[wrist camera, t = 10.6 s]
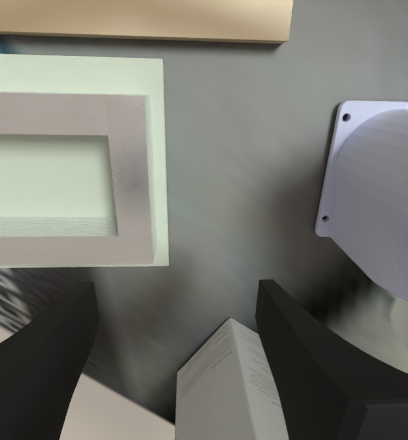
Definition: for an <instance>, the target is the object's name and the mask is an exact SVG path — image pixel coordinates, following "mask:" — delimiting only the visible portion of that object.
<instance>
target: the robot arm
mask: <svg viewBox="0 0 408 440" xmlns="http://www.w3.org/2000/svg"><path fill="white" fill-rule="evenodd" d="M344 114H347V119H346V120H345V121H343V120H342V117H343V115H344ZM324 216H327V218H326V219H325V220H322V218H323V217H324ZM315 233H316V234H317V235H318V236H319V237H330V238H331V239H332V240H333V241H334V242H335V243H336V244H337V245H338V246H339V247H340V248H341V249H342V250H343V251H344V252H345V253H346V254H347V255H348V256H349V257H350V258H351V259H352V260H353V261H354V262H355V263H356V264H357V265H358V267H359V268H360V269H361V270H362V271H363V272H364V273H365V274H366V275H367V276H368V277H369V278H370V279H371V280H372V281H374V282H375V283H376V284H378V285H379V286H380V287H382V288H384V289H385V290H387V291H389V292H391V293H392V294H394V295H396V296H399V297H401V298H403V299H405V300H408V102H392V101H343V102H342V103H341V104H340V105H339V107H338V111H337V116H336V121H335V127H334V132H333V137H332V142H331V147H330V153H329V158H328V163H327V168H326V174H325V179H324V184H323V189H322V195H321V200H320V205H319V210H318V216H317V221H316V226H315ZM255 318H256V323H257V328H258V333H259V337H260V340H261V343H262V346H263V349H264V352H265V355H266V358H267V361H268V364H269V367H270V370H271V373H272V376H273V379H274V382H275V384H276V388H277V391H278V394H279V398H280V402H281V407H282V411H283V415H284V419H285V424H286V428H287V433H288V437H289V440H408V374H407V373H405V372H403V371H400V370H398V369H396V368H394V367H392V366H390V365H388V364H386V363H384V362H382V361H380V360H378V359H376V358H374V357H373V356H371V355H369V354H367V353H365V352H364V351H362V350H360V349H359V348H357V347H355V346H354V345H352V344H350V343H349V342H347V341H346V340H344V339H343V338H341V337H340V336H338V335H337V334H335V333H334V332H332V331H331V330H330V329H328V328H327V327H326V326H324V325H323V324H322V323H320V322H319V321H318V320H317V319H315V318H314V317H313V316H312V315H310V314H309V313H308V312H307V311H306V310H305V309H304V308H302V307H301V306H300V305H299V304H298V303H297V302H296V301H295V300H294V299H293V298H292V297H291V296H289V295H288V294H287V293H286V292H285V291H284V290H283V289H282V288H281V287H280V286H279V285H278V284H277V283H276V282H275V281H274V280H259V288H258V296H257V305H256V314H255ZM98 323H99V314H98V307H97V301H96V294H95V287H94V282H79V283H78V284H76V285H75V286H74V287H73V288H72V289H70V290H69V291H68V292H67V293H66V294H65V295H63V296H62V297H61V298H60V299H59V300H58V301H56V302H55V303H54V304H53V305H52V306H50V307H49V308H48V309H47V310H46V311H44V312H43V313H42V314H40V315H39V316H38V317H37V318H35V319H34V320H33V321H31V322H30V323H29V324H27V325H26V326H25V327H23V328H22V329H21V330H19V331H18V332H16V333H15V334H13V335H12V336H11V337H9V338H8V339H6V340H4V341H3V342H1V343H0V440H59V439H60V434H61V431H62V428H63V424H64V421H65V417H66V414H67V410H68V407H69V404H70V401H71V398H72V395H73V393H74V390H75V387H76V385H77V383H78V380H79V378H80V375H81V373H82V370H83V368H84V365H85V363H86V360H87V358H88V355H89V353H90V350H91V347H92V345H93V342H94V339H95V335H96V331H97V327H98Z"/></svg>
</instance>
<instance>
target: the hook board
mask: <svg viewBox="0 0 408 440" xmlns="http://www.w3.org/2000/svg"><path fill="white" fill-rule="evenodd" d="M292 6H293V0H0V34H2V35H32V36H62V37H92V38H122V39H152V40H181V41H211V42H241V43H271V44H283V43H285V42H287V41H288V40H289V31H290V23H291V14H292Z"/></svg>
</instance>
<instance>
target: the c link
mask: <svg viewBox="0 0 408 440" xmlns="http://www.w3.org/2000/svg"><path fill="white" fill-rule="evenodd" d="M0 134H44V135H108V139H109V149H110V159H111V168H112V178H113V187H114V197H115V207H116V216H117V217H0V265H77V264H153V261H154V256H155V251H156V245H157V228H156V206H155V184H154V163H153V141H152V119H151V98H150V95H149V94H106V93H63V92H20V91H0Z"/></svg>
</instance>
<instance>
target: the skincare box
mask: <svg viewBox="0 0 408 440" xmlns="http://www.w3.org/2000/svg"><path fill="white" fill-rule="evenodd" d="M175 440H289V437H288V433H287V428H286V424H285V419H284V415H283V411H282V407H281V402H280V398H279V394H278V391H277V388H276V384H275V382H274V379H273V376H272V373H271V370H270V367H269V364H268V361H267V358H266V355H265V352H264V349H263V346H262V343H261V340H260V337H259V334H257V333H255V332H254V331H252V330H250V329H249V328H247V327H246V326H244V325H242V324H241V323H239V322H237V321H236V320H234V319H232V318H229V319H228V320H227V321H226V322H225V323H224V324H223V325H222V326H221V327H220V328H219V329H218V330H217V331H216V332H215V333H214V334H213V336H212V337H211V338H210V339H209V340H208V341H207V342H206V343H205V344H204V345H203V346H202V347H201V348H200V349H199V350H198V351H197V352H196V353H195V354H194V355H193V356H192V358H191V359H190V360H189V361H188V362H187V363H186V364H185V365H184V366H183V367H182V368H181V369H180V370H179V371H178V372H177V394H176V422H175Z"/></svg>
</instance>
